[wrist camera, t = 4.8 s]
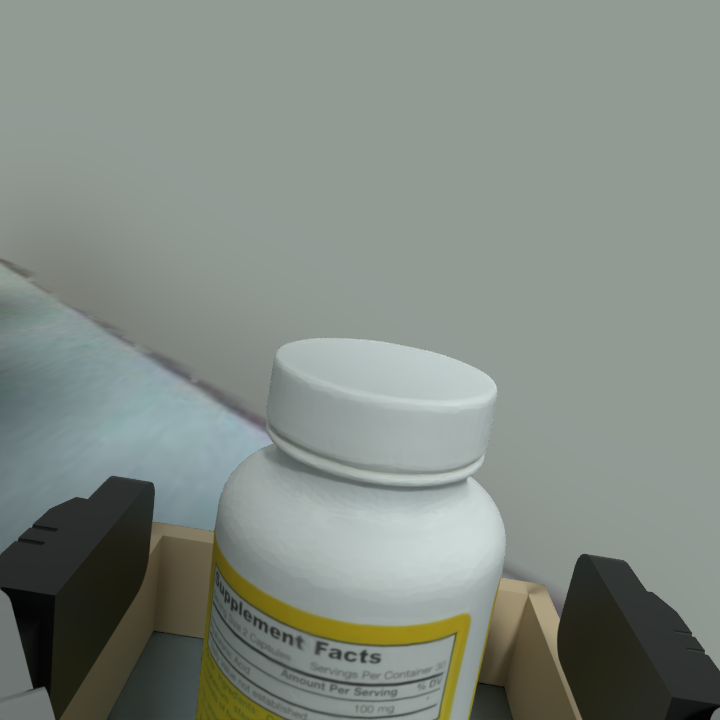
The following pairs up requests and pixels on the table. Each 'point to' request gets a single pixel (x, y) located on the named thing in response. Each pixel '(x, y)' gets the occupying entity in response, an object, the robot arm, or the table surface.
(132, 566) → the robot arm
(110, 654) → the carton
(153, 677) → the table surface
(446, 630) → the supplement bottle
